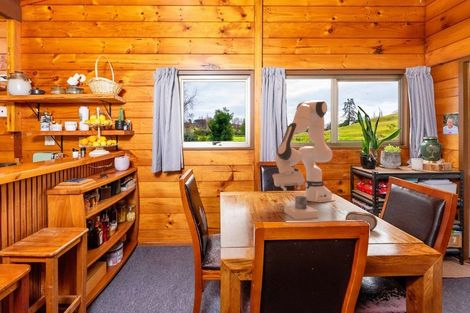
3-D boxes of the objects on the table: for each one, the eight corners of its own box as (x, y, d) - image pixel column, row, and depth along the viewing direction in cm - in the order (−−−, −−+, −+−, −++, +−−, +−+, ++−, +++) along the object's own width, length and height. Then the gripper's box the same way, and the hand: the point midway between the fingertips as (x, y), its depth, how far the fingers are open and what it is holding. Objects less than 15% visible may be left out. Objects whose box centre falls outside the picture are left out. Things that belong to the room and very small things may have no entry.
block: (302, 207, 188) (303, 195, 188) (306, 209, 183) (306, 197, 183) (295, 207, 187) (295, 195, 187) (298, 209, 182) (298, 197, 182)
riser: (305, 211, 195) (305, 204, 195) (317, 217, 179) (318, 210, 179) (284, 212, 192) (284, 205, 191) (295, 219, 176) (295, 212, 176)
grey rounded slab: (377, 230, 156) (377, 214, 156) (376, 232, 153) (376, 215, 153) (345, 226, 164) (346, 210, 163) (344, 227, 161) (345, 211, 160)
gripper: (272, 170, 202) (278, 188, 194) (301, 169, 207) (308, 186, 198) (270, 176, 207) (275, 194, 199) (299, 174, 212) (305, 191, 203)
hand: (292, 190), depth 198 cm, fingers open, 8 cm apart
